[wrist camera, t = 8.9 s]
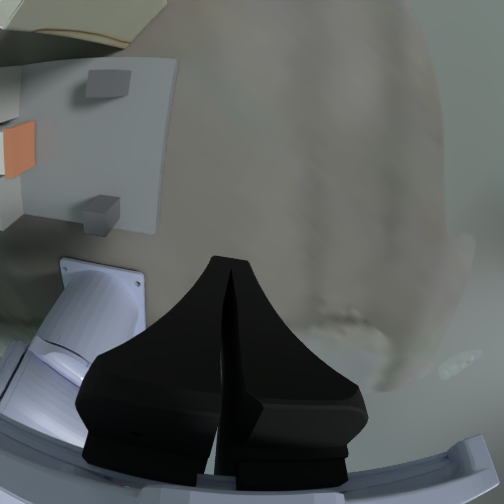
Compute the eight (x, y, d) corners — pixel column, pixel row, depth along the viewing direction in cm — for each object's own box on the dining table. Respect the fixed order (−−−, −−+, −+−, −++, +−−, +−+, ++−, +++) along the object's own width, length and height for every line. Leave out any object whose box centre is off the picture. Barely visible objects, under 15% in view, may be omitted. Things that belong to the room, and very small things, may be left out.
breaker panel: (158, 228, 22) (143, 257, 18) (-30, 200, 19) (-56, 218, 16) (179, 60, 16) (163, 54, 12) (-35, 79, 13) (-65, 86, 10)
